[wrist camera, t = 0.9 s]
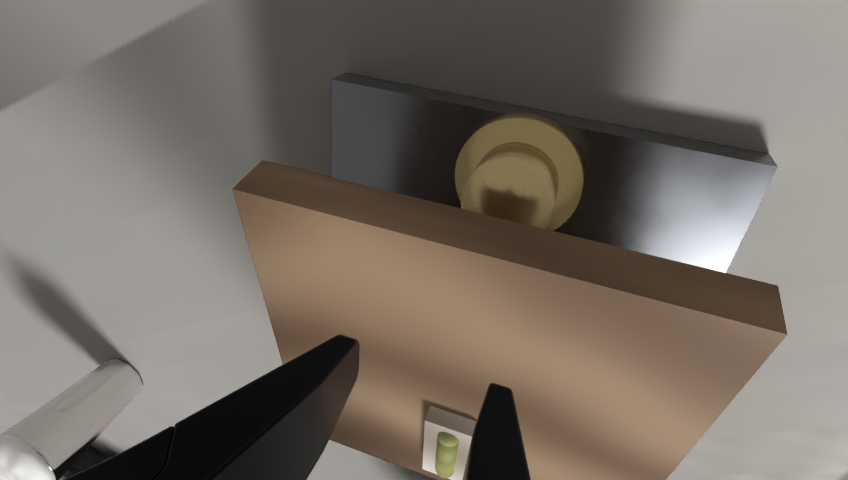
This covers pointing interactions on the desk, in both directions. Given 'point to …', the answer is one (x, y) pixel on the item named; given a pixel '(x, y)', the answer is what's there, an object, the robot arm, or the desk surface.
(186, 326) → the desk surface
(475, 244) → the top plate
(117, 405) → the milkshake
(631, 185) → the base
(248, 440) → the robot arm
